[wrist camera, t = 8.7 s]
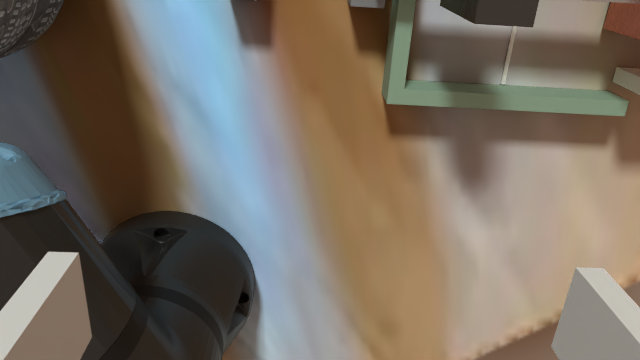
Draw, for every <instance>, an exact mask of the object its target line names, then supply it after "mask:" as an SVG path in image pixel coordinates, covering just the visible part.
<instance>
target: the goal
mask: <svg viewBox="0 0 640 360" xmlns="http://www.w3.org/2000/svg"><path fill="white" fill-rule="evenodd" d="M612 82H614V83H616V84H618V85H620V86H622V87H624V88H626V89H628V90H630V91H632V92H634V93H637V94H639V95H640V68H622V67H616V71H615V74H614V77H613V81H612Z"/></svg>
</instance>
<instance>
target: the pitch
mask: <svg viewBox="0 0 640 360" xmlns="http://www.w3.org/2000/svg"><path fill="white" fill-rule="evenodd" d="M256 1H257V0H256ZM348 3H349V4H350V6H355V7H372V8H385V0H348ZM415 4H416V0H392V7H391V15H390V24H389V33H388V42H387V51H386V60H385V68H384V77H383V86H382V95H383V97H384V99H385V101H386V103H387V104H400V105H419V106H438V107H457V108H476V109H495V110H514V111H534V112H553V113H572V114H591V115H610V116H625V113H626V110H627V107H628V104H629V101H627V100H625V99H624V98H622V97H620V96H618V95H616V94H614V93H612V92H610V91H600V90H582V89H563V88H545V87H527V86H508V85H505V82H506V77H507V72H508V67H509V63H510V58H511V53H512V49H513V44H514V39H515V35H516V30H517V26H513V27H512V32H511V37H510V41H509V46H508V51H507V56H506V60H505V65H504V70H503V75H502V79H501V84H504V85H490V84H472V83H453V82H435V81H417V80H406V72H407V65H408V57H409V49H410V42H411V34H412V27H413V19H414V11H415Z"/></svg>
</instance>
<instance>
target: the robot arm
mask: <svg viewBox="0 0 640 360" xmlns="http://www.w3.org/2000/svg"><path fill="white" fill-rule="evenodd" d="M66 198H67V195H66V194H65V192H64V191H62V190H59V189H57V187H56V186H55V185H54V184H53V183H52V182H51V180H50V179H49V178H48V177H47V176H46V175H45V173H44V172H43V171H42V170H41V169H40V168H39V167H38V165H37V164H36V163H35V162H34V161H33V160H32V158H31V157H30V156H29V155H28V154H27V153H26V152H25V151H23V150H22V149H20V148H18V147H16V146H14V145H11V144H7V143H0V360H222V355H223V354H224V352H225V351H226V350H227V348H228V347H229V345H230V344H231V343H232V341H233V340H234V338H235V337H236V336H237V334H238V333H239V331H240V330H241V328H242V327H243V326H244V324H245V322H246V320H247V318H248V316H249V313H250V310H251V306H252V300H253V294H254V285H255V281H254V272H253V268H252V265H251V262H250V260H249V258H248V256H247V254H246V252H245V251H244V249H243V248H242V246H241V245H240V244H239V243H238V242H237V240H236V239H235V238H234V237H233V236H231V235H230V234H229V233H228V232H227V231H225V230H224V229H223V228H221V227H220V226H218V225H216V224H215V223H213V222H211V221H209V220H206V219H204V218H201V217H199V216H196V215H192V214H188V213H182V212H174V211H159V212H151V213H146V214H142V215H139V216H136V217H133V218H131V219H129V220H127V221H125V222H123V223H122V224H120V225H119V226H117V227H116V228H115V229H113V230H112V231H111V232H110V233H109V234H108V235H107V237H106V238H105V239H104V241H103V242H102V244H101V245H100V244H99V242H98V241H97V240H96V238H95V237H94V236H93V234H92V233H91V232H90V230H89V229H88V228H87V227H86V225H85V224H84V223H83V221H82V220H81V219H80V217H79V216H78V215H77V213H76V212H75V211H74V209H73V208H72V207H71V205H70V204H69V202H68V201H67V200H66ZM551 347H552V348H553V350H554V352H555V353H556V355H557V356H558V358H559V360H640V308H639V306H637V304H636V303H635V302H634V301H633V300H632V299H631V298H630V297H629V296H628V295H627V293H626V292H625V291H624V290H623V289H622V288H621V287H620V286H619V285H618V284H617V283H616V281H615V280H614V279H613V278H612V277H611V276H610V275H609V274H608V273H607V272H606V271H605V270H604V268H577V267H576V269H575V272H574V275H573V279H572V282H571V285H570V288H569V291H568V295H567V298H566V301H565V304H564V307H563V311H562V314H561V317H560V320H559V323H558V327H557V330H556V333H555V336H554V339H553V343H552V346H551Z"/></svg>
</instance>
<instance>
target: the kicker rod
mask: <svg viewBox="0 0 640 360" xmlns="http://www.w3.org/2000/svg"><path fill="white" fill-rule="evenodd" d="M585 1H601V2H611V3H610V6H609V10H608V13H607V17H606V20H605V24H604V27H603V28H604V29H607V30H610V31H613V32H617V33H620V34H623V35H626V36H629V37H633V38H636V39H639V40H640V0H585ZM538 2H539V0H441V2H440V6H442V7H444V8H446V9H448V10H449V11H451V12H453V13H455V14H457V15H459V16H461V17H463V18H464V19H466V20H468V21H470V22H472V23H474V24H487V25H503V26H520V27H533V24H534V20H535V15H536V11H537V7H538Z"/></svg>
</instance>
